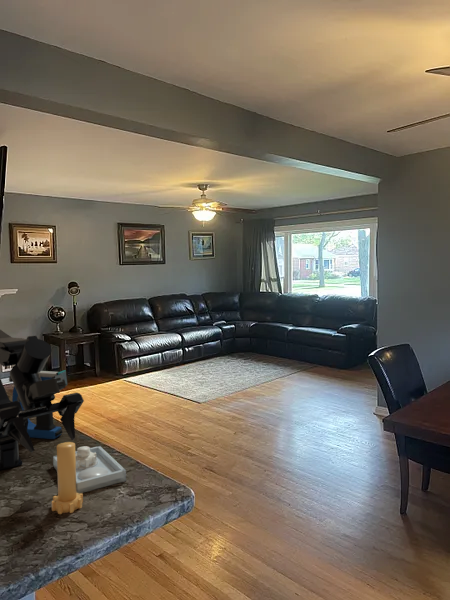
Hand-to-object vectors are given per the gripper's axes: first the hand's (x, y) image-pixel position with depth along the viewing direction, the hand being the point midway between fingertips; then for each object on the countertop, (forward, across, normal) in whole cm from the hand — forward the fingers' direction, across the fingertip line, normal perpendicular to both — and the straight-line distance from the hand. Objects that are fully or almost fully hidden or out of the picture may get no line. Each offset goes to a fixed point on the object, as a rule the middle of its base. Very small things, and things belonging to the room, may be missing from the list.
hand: (53, 445), depth 99 cm
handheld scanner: (-19, +15, +36) cm, 43 cm away
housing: (+4, +11, +12) cm, 17 cm away
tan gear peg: (+12, 0, +5) cm, 13 cm away
